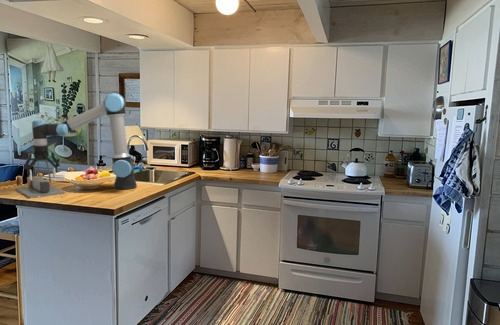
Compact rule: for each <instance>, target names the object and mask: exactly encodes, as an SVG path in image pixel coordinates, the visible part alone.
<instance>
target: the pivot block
mask: <svg viewBox="0 0 500 325" xmlns="http://www.w3.org/2000/svg"><path fill="white" fill-rule="evenodd" d="M32 178H41V179H42V176H40V175H39V176H38V175H34V176H33V175H32ZM26 180H27V187H28V188H33V184H32V180H29V176H27V177H26Z"/></svg>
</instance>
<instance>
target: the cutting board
mask: <svg viewBox="0 0 500 325" xmlns="http://www.w3.org/2000/svg"><path fill="white" fill-rule="evenodd" d="M49 189H50V192H41V191H39V190H37V189H35V188H28V186H22V187H16V188H15V191H17V192H18V191H19V192H18V193H20V192H21V193H20V194H22V193H23V194H25V195H26V196H25V195H24V196H25V197H27V196H28V197H30V198H29V199H32V198H31V197H37V198H39V197H38V196H44V197H48V196H47V195H52V196H57V195H56V194H59V195H65V194H66V191H64V190H62V189H60V188H58V187H56V186H53V185H52V184H49ZM64 193H65V194H64ZM23 194H22V195H23ZM28 197H27V198H28Z"/></svg>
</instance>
